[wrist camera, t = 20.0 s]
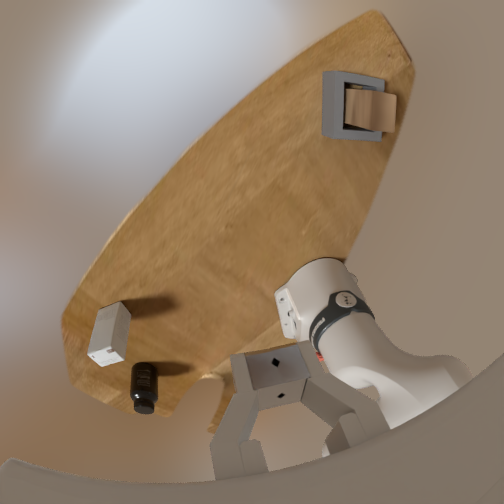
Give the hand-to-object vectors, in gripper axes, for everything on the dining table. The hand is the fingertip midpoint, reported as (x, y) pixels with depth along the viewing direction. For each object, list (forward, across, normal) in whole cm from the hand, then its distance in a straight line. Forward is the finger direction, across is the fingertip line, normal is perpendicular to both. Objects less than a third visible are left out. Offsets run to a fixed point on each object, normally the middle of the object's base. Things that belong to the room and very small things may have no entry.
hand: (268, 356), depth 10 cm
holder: (+34, -22, -8) cm, 42 cm away
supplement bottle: (+34, +22, +48) cm, 63 cm away
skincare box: (+34, +22, +27) cm, 49 cm away
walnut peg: (+34, -22, -8) cm, 42 cm away
